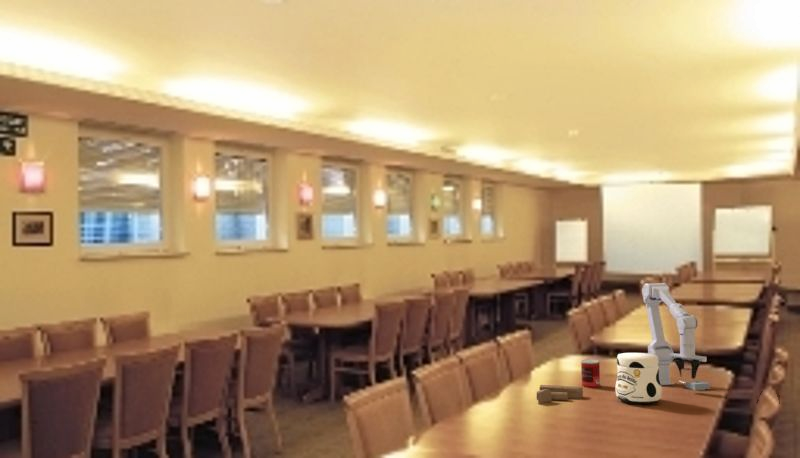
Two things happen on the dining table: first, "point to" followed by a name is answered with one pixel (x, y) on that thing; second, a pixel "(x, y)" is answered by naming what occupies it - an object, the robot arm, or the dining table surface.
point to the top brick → (686, 375)
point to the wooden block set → (558, 393)
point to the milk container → (638, 378)
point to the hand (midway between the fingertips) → (688, 377)
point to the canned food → (590, 373)
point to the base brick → (698, 385)
